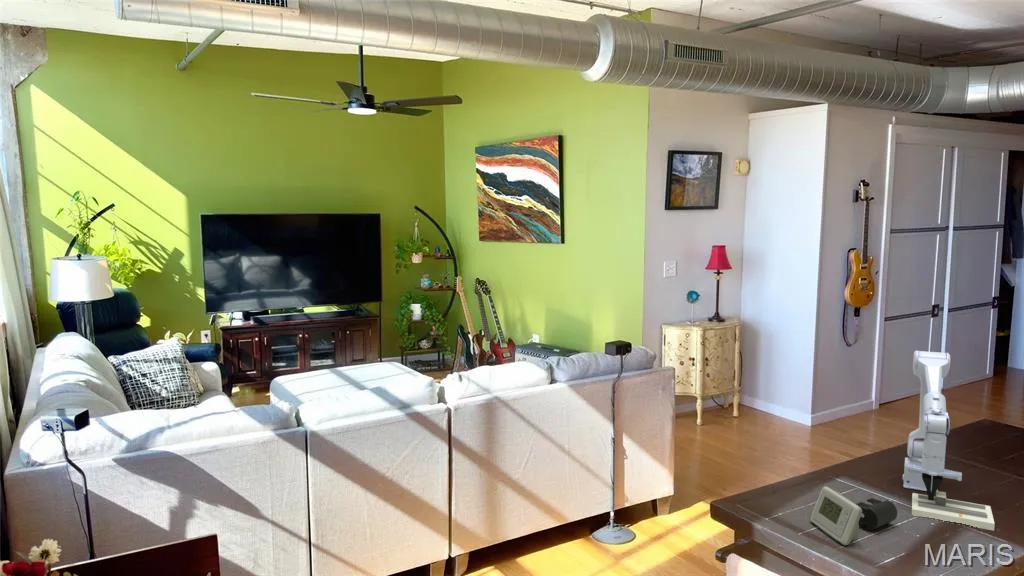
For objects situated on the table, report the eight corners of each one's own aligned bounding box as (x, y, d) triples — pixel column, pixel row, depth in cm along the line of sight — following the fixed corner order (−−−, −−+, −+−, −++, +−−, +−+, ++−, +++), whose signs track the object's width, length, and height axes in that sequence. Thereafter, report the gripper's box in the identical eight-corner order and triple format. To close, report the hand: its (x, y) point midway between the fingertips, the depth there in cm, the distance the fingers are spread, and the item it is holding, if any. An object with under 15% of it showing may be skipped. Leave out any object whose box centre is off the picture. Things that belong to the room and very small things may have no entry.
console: (911, 515, 209) (912, 505, 209) (912, 499, 221) (912, 489, 221) (994, 530, 200) (994, 520, 199) (989, 512, 212) (990, 502, 211)
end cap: (877, 535, 197) (878, 511, 196) (852, 525, 203) (854, 502, 202) (897, 526, 202) (898, 503, 201) (872, 517, 208) (874, 495, 207)
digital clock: (808, 520, 206) (810, 484, 204) (840, 521, 205) (842, 485, 204) (831, 547, 189) (833, 508, 188) (866, 547, 189) (868, 508, 188)
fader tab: (935, 506, 210) (936, 495, 210) (935, 501, 214) (935, 490, 214) (945, 507, 209) (946, 497, 209) (944, 503, 213) (945, 492, 213)
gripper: (905, 454, 211) (902, 499, 213) (963, 463, 204) (960, 509, 206) (905, 447, 218) (903, 491, 219) (962, 455, 210) (959, 500, 212)
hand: (930, 499), depth 213 cm, fingers closed
